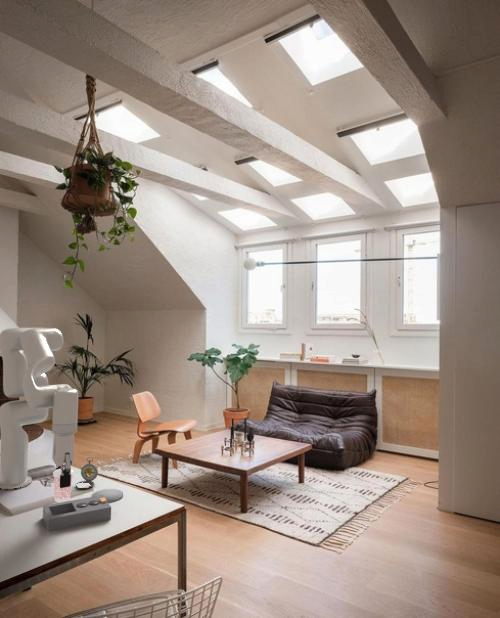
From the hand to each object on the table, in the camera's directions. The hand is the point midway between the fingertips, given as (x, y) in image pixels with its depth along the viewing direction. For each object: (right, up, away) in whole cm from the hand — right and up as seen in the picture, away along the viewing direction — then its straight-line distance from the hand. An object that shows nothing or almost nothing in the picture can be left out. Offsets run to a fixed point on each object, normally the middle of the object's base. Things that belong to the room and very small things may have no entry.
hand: (62, 482), depth 154 cm
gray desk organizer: (+4, -12, +2) cm, 13 cm away
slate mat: (+8, -12, +20) cm, 25 cm away
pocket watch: (-3, -12, +30) cm, 33 cm away
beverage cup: (0, -5, 0) cm, 6 cm away
